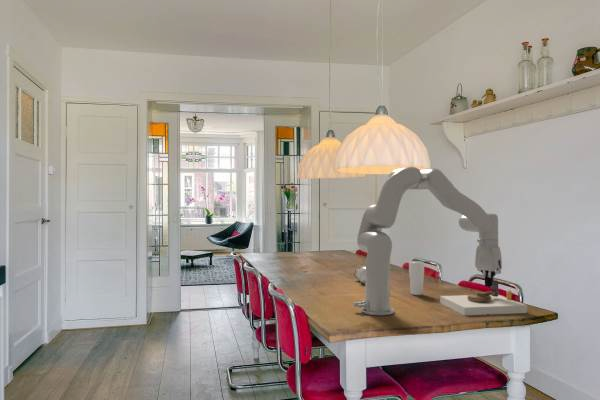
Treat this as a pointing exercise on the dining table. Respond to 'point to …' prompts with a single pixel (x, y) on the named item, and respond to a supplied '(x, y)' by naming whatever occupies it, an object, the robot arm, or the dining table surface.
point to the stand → (483, 305)
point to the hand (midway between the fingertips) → (488, 286)
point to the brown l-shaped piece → (485, 294)
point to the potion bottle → (360, 274)
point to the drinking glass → (416, 277)
